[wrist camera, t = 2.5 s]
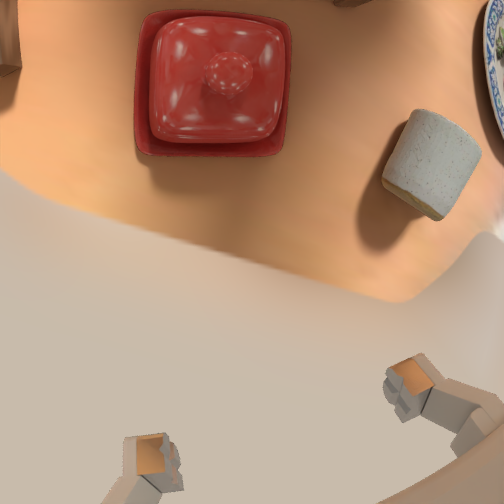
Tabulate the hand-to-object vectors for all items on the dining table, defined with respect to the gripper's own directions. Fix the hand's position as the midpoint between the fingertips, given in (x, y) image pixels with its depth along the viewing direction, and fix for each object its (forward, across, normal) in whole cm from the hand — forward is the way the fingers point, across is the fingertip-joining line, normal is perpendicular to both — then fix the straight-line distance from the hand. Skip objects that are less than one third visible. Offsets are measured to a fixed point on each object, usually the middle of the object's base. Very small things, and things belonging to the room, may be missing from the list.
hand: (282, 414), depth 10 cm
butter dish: (+19, -2, -11) cm, 22 cm away
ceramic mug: (+19, -21, -2) cm, 28 cm away
